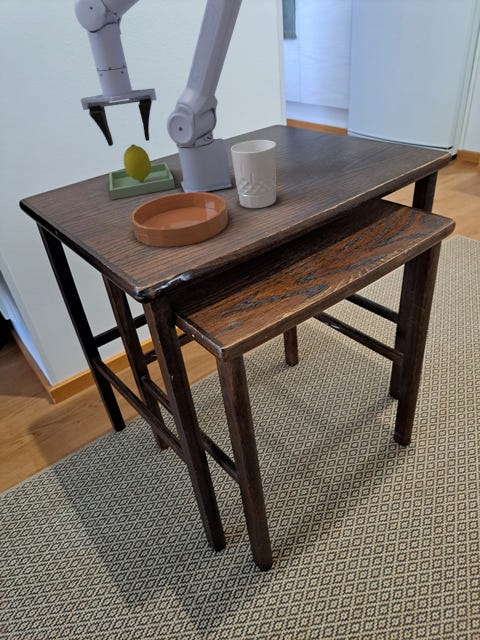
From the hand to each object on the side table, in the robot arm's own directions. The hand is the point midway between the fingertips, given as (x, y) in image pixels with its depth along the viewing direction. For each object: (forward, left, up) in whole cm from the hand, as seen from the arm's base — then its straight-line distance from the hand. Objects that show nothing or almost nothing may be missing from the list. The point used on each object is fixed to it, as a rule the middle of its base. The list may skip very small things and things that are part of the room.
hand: (129, 142), depth 94 cm
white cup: (-21, +23, -9) cm, 32 cm away
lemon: (-1, 0, -9) cm, 9 cm away
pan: (-6, +27, -9) cm, 29 cm away
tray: (-1, 0, -9) cm, 9 cm away
